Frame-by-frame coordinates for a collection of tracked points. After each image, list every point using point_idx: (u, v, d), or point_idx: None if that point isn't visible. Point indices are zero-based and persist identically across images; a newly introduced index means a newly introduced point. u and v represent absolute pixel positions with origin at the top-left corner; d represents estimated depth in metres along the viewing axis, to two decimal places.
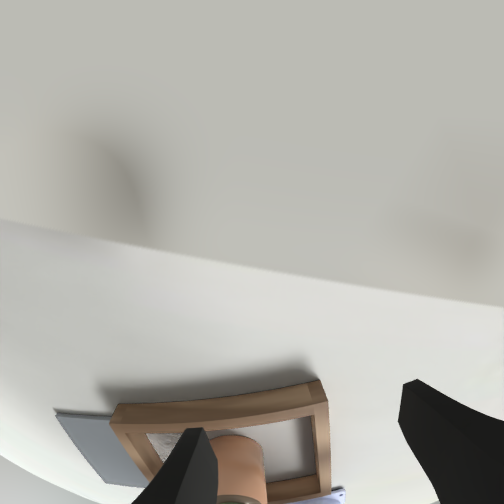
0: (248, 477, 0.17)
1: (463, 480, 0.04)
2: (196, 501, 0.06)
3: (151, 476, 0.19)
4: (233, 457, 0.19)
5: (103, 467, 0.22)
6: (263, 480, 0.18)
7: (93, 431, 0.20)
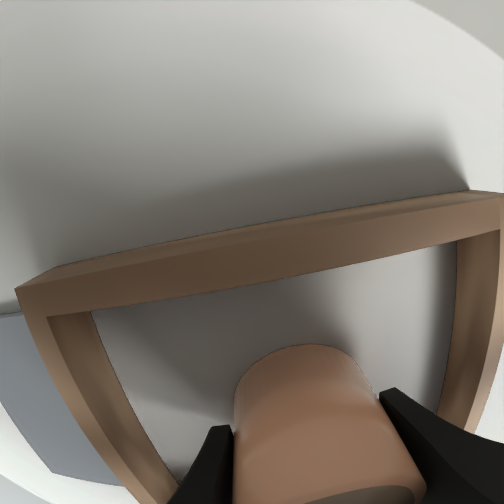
0: (383, 431, 0.06)
1: (435, 495, 0.04)
2: (227, 500, 0.06)
3: (115, 457, 0.08)
4: (328, 385, 0.08)
5: (41, 440, 0.11)
6: None
7: (11, 352, 0.10)
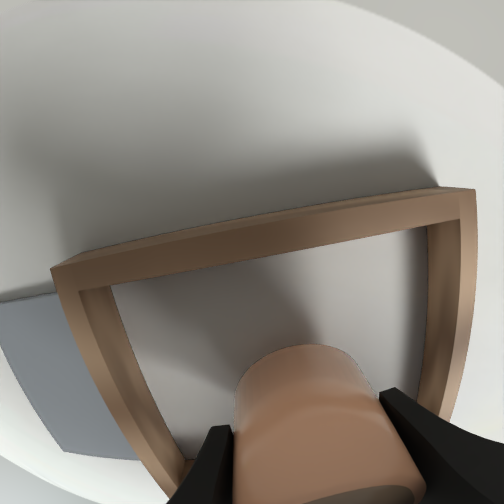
0: (382, 430, 0.06)
1: (435, 495, 0.04)
2: (227, 500, 0.06)
3: (129, 421, 0.11)
4: (328, 385, 0.08)
5: (55, 417, 0.13)
6: None
7: (35, 331, 0.12)
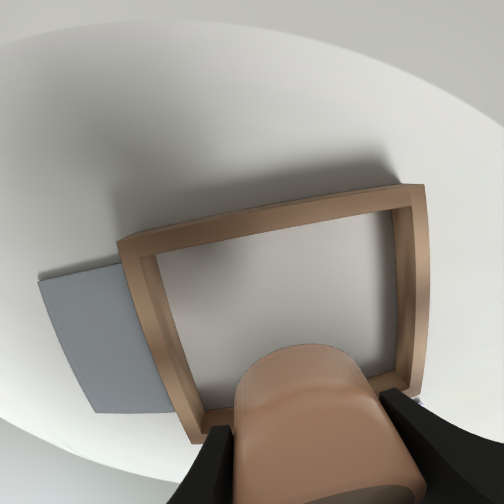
0: (383, 430, 0.06)
1: (435, 495, 0.04)
2: (227, 500, 0.06)
3: (167, 363, 0.15)
4: (328, 385, 0.08)
5: (93, 377, 0.18)
6: None
7: (86, 299, 0.16)
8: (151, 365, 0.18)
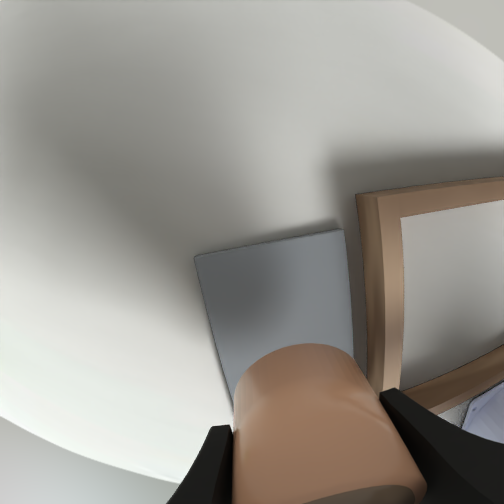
0: (383, 430, 0.06)
1: (435, 495, 0.05)
2: (227, 500, 0.06)
3: (397, 344, 0.13)
4: (328, 384, 0.08)
5: None
6: None
7: (282, 278, 0.14)
8: None
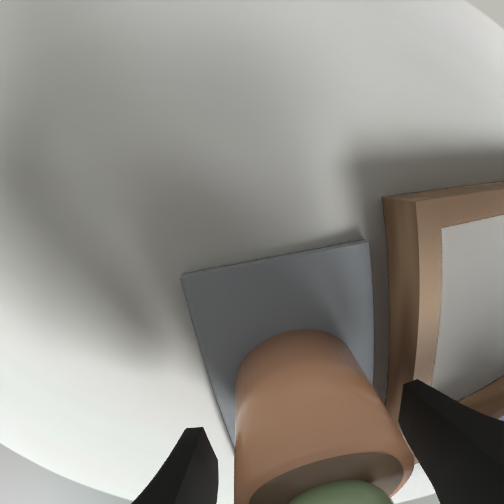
0: (371, 404, 0.07)
1: (463, 480, 0.04)
2: (196, 501, 0.06)
3: (427, 378, 0.10)
4: (321, 364, 0.09)
5: None
6: None
7: (292, 302, 0.11)
8: None
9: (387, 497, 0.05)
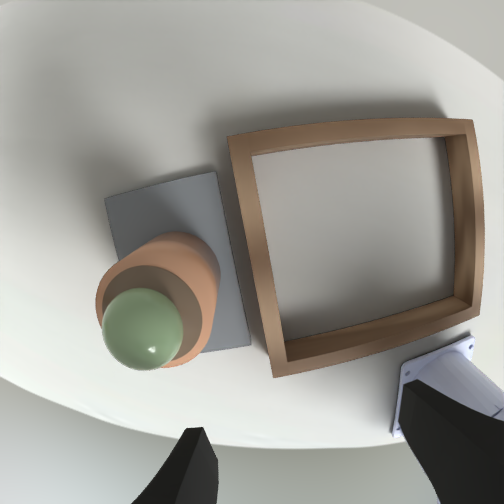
0: (182, 254, 0.13)
1: (463, 480, 0.04)
2: (196, 501, 0.06)
3: (266, 270, 0.16)
4: (168, 239, 0.15)
5: None
6: (210, 278, 0.14)
7: (167, 211, 0.17)
8: (233, 286, 0.18)
9: (168, 301, 0.11)
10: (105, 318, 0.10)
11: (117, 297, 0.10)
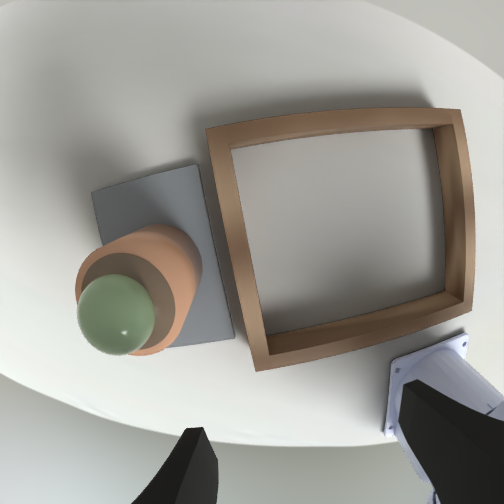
0: (159, 243, 0.13)
1: (463, 480, 0.04)
2: (196, 501, 0.06)
3: (245, 261, 0.16)
4: (148, 229, 0.15)
5: None
6: (186, 267, 0.14)
7: (150, 204, 0.17)
8: (215, 278, 0.18)
9: (139, 287, 0.11)
10: (79, 302, 0.10)
11: (91, 282, 0.10)
